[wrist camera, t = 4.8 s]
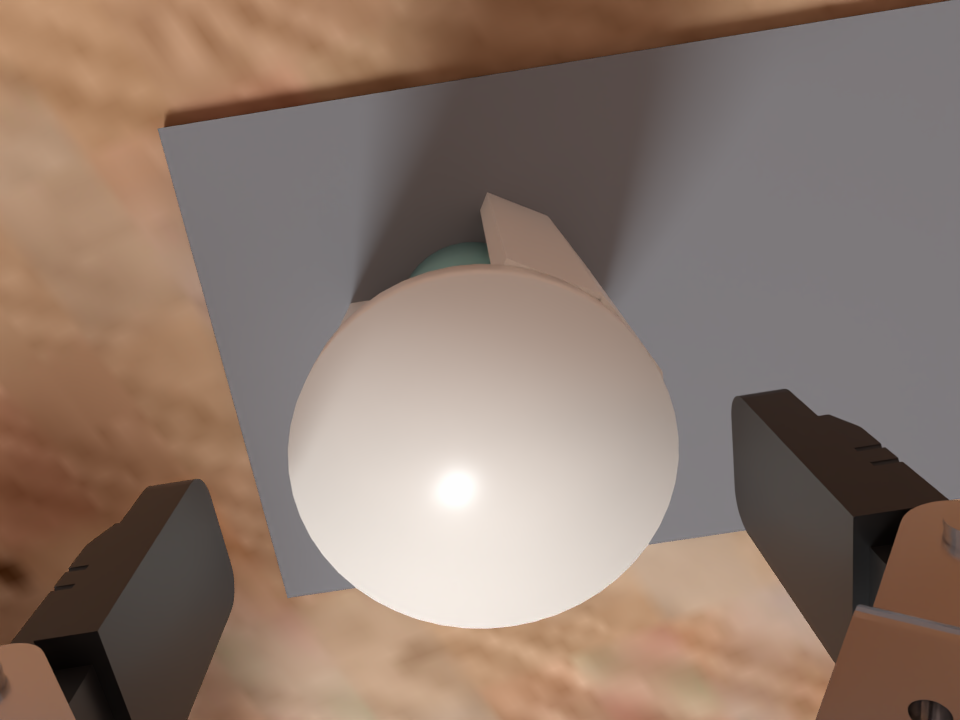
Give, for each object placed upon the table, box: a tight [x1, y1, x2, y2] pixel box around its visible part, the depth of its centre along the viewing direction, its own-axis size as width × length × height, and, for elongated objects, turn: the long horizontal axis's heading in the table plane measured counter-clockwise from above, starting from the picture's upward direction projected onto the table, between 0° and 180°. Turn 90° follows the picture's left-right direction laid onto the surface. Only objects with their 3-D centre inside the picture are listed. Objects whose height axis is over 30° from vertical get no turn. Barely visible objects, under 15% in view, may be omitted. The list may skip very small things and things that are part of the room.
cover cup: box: [288, 192, 679, 628], centre depth 17 cm, size 6×6×9 cm
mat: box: [158, 0, 960, 598], centre depth 22 cm, size 24×14×1 cm, turn 99°
